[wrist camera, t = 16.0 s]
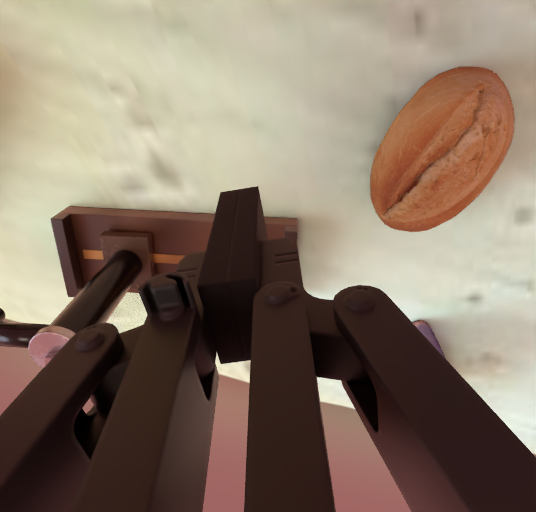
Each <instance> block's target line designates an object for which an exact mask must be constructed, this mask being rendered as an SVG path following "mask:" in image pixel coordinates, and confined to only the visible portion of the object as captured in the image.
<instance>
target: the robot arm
mask: <svg viewBox="0 0 536 512" xmlns="http://www.w3.org/2000/svg"><path fill="white" fill-rule="evenodd" d="M138 291H139V294H140V296H141V299H142V301H143V304H144V306H145V309H146V311H147V314H148V315H147V318H146V321H145V323H144V325H141V326H139V327H137V328H134V329H131V330H128V331H125V332H123V333H120V334H119V332H118V330H117V328H116V327H115V326H114V325H113V324H109V323H99V324H94V325H92V326H88V327H86V328H84V329H83V330H81V331H79V332H77V333H76V334H75V335H74V336H73V337H72V338H70V339H69V340H68V342H67V343H66V344H65V345H64V346H63V347H62V348H61V349H60V350H59V351H58V353H57V354H56V355H55V356H54V357H53V358H52V359H51V360H50V361H49V362H48V364H47V365H46V366H45V367H44V368H43V369H42V370H41V371H40V372H39V374H38V375H37V376H36V377H35V378H34V379H33V380H32V381H31V382H30V383H29V385H28V386H27V387H26V388H25V389H24V390H23V391H22V392H21V393H20V394H19V396H18V397H17V398H16V399H15V400H14V401H13V402H12V403H11V404H10V405H9V407H8V408H7V409H6V410H5V411H4V412H3V413H2V414H1V416H0V512H202V510H203V502H204V493H205V485H206V477H207V468H208V461H209V452H210V445H211V437H212V429H213V421H214V413H215V405H216V397H217V389H218V380H219V376H218V371H217V367H216V364H215V359H216V352H217V353H218V357H219V360H220V363H221V364H224V363H232V362H239V361H247V360H251V366H250V389H249V390H250V391H249V412H248V435H247V458H246V482H245V505H244V512H336V510H335V503H334V496H333V489H332V482H331V475H330V468H329V461H328V454H327V448H326V441H325V434H324V426H323V419H322V413H321V405H320V398H319V391H318V383H317V377H322V378H329V379H336V380H341V381H342V385H343V387H344V389H345V391H346V393H347V394H348V396H349V398H350V400H351V402H352V404H353V405H354V407H355V409H356V411H357V413H358V414H359V416H360V418H361V420H362V422H363V423H364V425H365V427H366V429H367V431H368V433H369V435H370V436H371V438H372V440H373V442H374V444H375V446H376V447H377V449H378V451H379V453H380V455H381V456H382V458H383V460H384V462H385V464H386V465H387V467H388V469H389V471H390V473H391V475H392V477H393V478H394V480H395V482H396V484H397V485H398V488H399V489H400V491H401V493H402V495H403V497H404V499H405V500H406V502H407V504H408V506H409V508H410V509H411V511H412V512H536V457H535V456H534V455H533V454H532V453H531V452H530V450H529V449H528V448H527V447H526V446H525V445H524V444H523V443H522V442H521V441H520V440H519V438H518V437H517V436H516V435H515V434H514V433H513V432H512V431H511V430H510V429H509V428H508V426H507V425H506V424H505V423H504V422H503V421H502V420H501V419H500V418H499V417H498V416H497V414H496V413H495V412H494V411H493V410H492V409H491V408H490V407H489V406H488V405H487V404H486V402H485V401H484V400H483V399H482V398H481V397H480V396H479V395H478V394H477V393H476V392H475V391H474V389H473V388H472V387H471V386H470V385H469V384H468V383H467V382H466V381H465V380H464V379H463V377H462V376H461V375H460V374H459V373H458V372H457V371H456V370H455V369H454V368H453V367H452V365H451V364H450V363H449V362H448V361H447V360H446V359H445V358H444V357H443V356H442V355H441V353H440V352H439V351H438V350H437V349H436V348H435V347H434V346H433V345H432V344H431V343H430V341H429V340H428V339H427V338H426V337H425V336H424V335H423V334H422V333H421V332H420V331H419V330H418V328H417V327H416V326H415V325H414V324H413V323H412V322H411V321H410V320H409V319H408V318H407V316H406V315H405V314H404V313H403V312H402V311H401V310H400V309H399V308H398V307H397V306H396V304H395V303H394V302H393V301H392V300H391V299H390V298H389V297H388V296H387V295H386V294H385V293H384V292H383V291H381V290H380V289H378V288H375V287H371V286H362V285H358V286H352V287H348V288H346V289H343V290H341V291H340V292H339V293H338V294H336V295H335V297H334V300H325V299H319V298H316V297H313V296H311V295H310V294H308V293H307V292H306V291H305V290H304V287H303V282H302V276H301V269H300V262H299V256H298V249H297V243H296V242H295V241H293V240H292V239H291V238H290V237H285V238H279V239H272V240H268V236H267V231H266V226H265V220H264V215H263V210H262V205H261V199H260V194H259V189H258V186H257V187H251V188H245V189H239V190H233V191H227V192H221V193H220V197H219V201H218V205H217V209H216V213H215V217H214V221H213V225H212V229H211V233H210V237H209V241H208V245H207V248H206V251H201V252H194V253H188V254H186V255H185V256H184V257H183V258H182V259H181V260H180V261H179V263H178V266H177V268H176V272H166V273H162V274H158V275H156V276H154V277H151V278H149V279H148V280H146V281H145V282H144V283H142V285H141V286H140V287H139V288H138ZM89 398H90V399H91V401H92V402H93V404H94V406H93V407H92V409H91V410H90V411H89V412H88V413H87V414H86V413H85V412H84V410H83V409H82V408H83V406H84V405H85V403H86V402H87V401H88V399H89Z"/></svg>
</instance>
